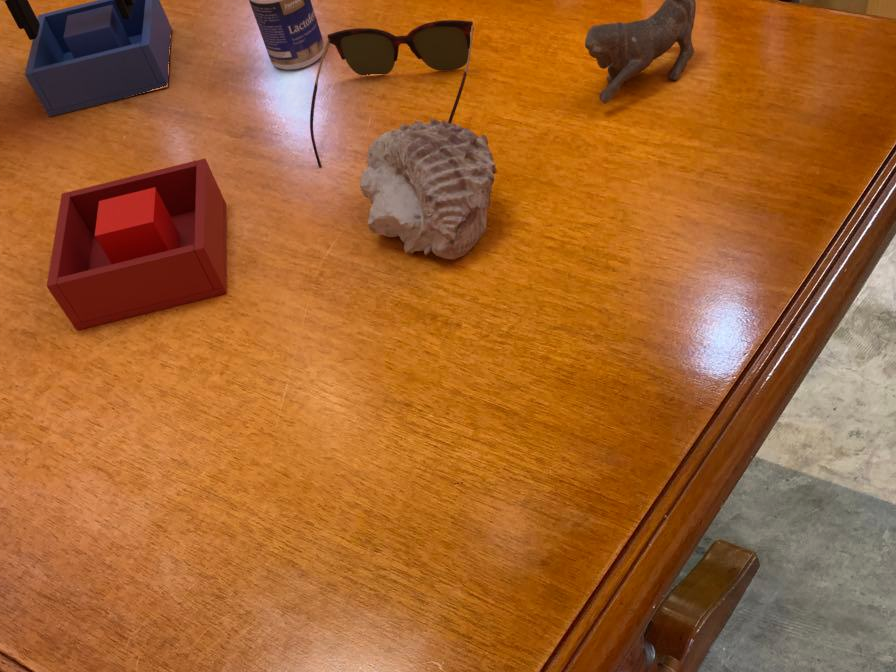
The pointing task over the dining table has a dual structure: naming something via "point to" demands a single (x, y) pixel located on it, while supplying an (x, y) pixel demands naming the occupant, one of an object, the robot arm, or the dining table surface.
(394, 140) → the seashell
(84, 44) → the blue block
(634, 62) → the dog figurine
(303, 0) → the pill bottle
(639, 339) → the dining table surface
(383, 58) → the sunglasses
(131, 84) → the blue bin
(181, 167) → the maroon bin
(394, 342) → the dining table surface
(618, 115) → the dining table surface
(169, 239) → the red block
